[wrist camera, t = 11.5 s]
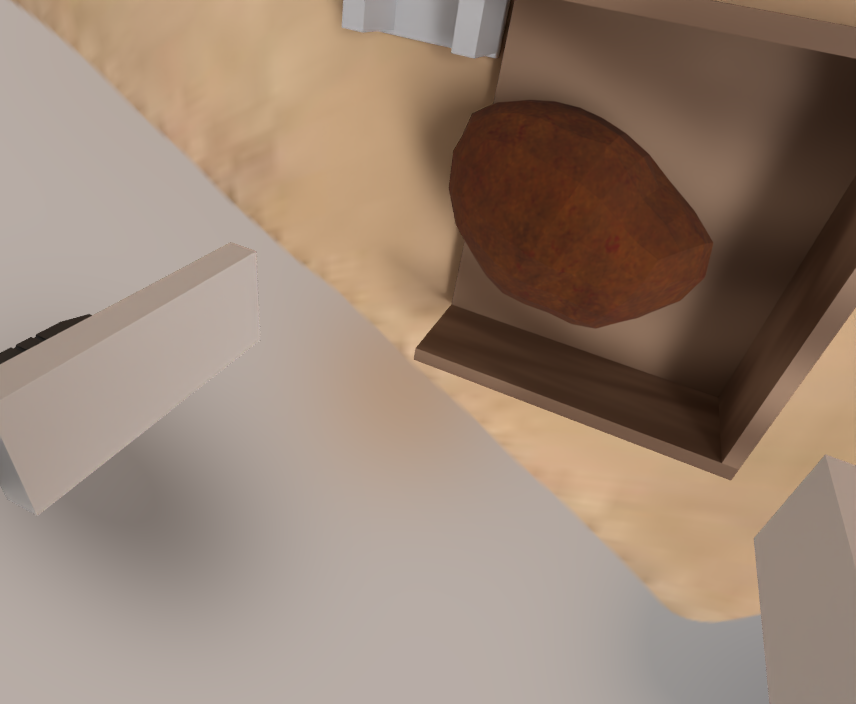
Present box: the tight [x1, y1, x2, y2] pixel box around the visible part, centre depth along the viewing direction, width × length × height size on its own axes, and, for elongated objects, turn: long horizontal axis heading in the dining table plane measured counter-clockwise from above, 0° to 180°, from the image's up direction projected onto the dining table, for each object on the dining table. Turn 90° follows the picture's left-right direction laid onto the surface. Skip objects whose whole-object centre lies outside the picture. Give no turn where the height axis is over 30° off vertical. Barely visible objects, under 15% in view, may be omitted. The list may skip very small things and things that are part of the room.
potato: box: [449, 100, 713, 329], centre depth 22 cm, size 8×12×8 cm, turn 63°
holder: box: [414, 0, 856, 480], centre depth 23 cm, size 16×15×6 cm
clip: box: [342, 0, 510, 58], centre depth 23 cm, size 2×6×4 cm, turn 81°
